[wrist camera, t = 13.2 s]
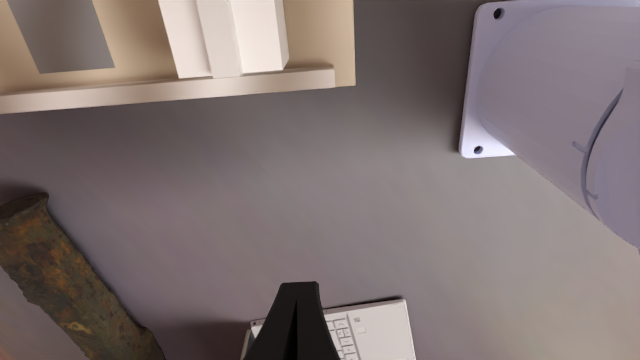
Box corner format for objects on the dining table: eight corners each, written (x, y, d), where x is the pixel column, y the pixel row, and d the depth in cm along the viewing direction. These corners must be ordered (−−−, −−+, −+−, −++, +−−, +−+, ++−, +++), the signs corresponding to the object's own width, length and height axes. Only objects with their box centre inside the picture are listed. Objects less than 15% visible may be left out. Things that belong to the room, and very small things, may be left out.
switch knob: (273, -78, 13) (258, -103, 10) (289, 58, 15) (281, 73, 12) (172, -68, 13) (126, -89, 10) (203, 65, 16) (173, 81, 12)
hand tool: (-1, 197, 22) (-76, 243, 18) (53, 184, 21) (-11, 228, 17) (141, 371, 31) (113, 429, 26) (182, 365, 30) (160, 423, 26)
